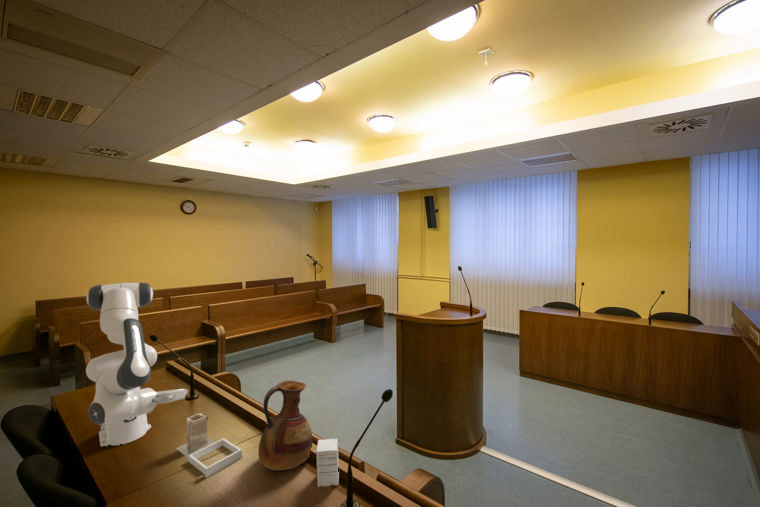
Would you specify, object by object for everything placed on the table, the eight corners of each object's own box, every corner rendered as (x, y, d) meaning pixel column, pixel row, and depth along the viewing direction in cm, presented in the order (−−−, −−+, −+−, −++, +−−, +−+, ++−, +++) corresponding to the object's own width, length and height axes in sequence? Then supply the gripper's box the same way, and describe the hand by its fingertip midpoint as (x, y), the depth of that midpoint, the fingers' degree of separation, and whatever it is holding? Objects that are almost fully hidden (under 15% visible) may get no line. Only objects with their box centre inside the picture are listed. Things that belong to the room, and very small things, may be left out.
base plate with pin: (175, 450, 140) (174, 429, 140) (205, 436, 150) (204, 417, 149) (189, 461, 133) (188, 439, 133) (218, 445, 142) (218, 425, 142)
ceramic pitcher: (318, 467, 127) (316, 388, 126) (262, 485, 118) (259, 401, 117) (305, 440, 145) (303, 371, 144) (256, 454, 136) (253, 381, 135)
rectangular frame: (188, 464, 131) (188, 455, 131) (223, 446, 142) (223, 438, 142) (206, 478, 122) (206, 468, 122) (242, 458, 134) (241, 449, 134)
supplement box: (318, 473, 124) (317, 439, 123) (339, 471, 124) (338, 437, 124) (316, 487, 116) (315, 451, 116) (338, 485, 117) (337, 449, 117)
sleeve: (187, 446, 141) (186, 418, 140) (204, 438, 146) (203, 411, 146) (193, 451, 137) (192, 422, 137) (211, 442, 143) (210, 415, 143)
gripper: (164, 389, 121) (196, 381, 134) (124, 394, 127) (158, 386, 140) (165, 408, 119) (197, 398, 132) (123, 412, 125) (158, 402, 138)
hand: (177, 392), depth 136 cm, fingers open, 8 cm apart
